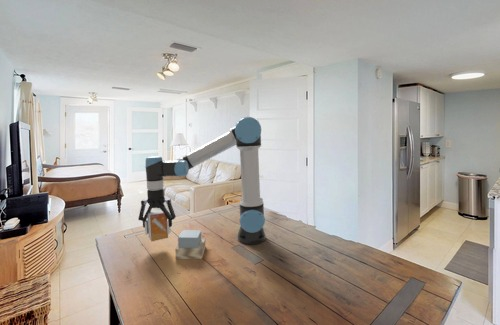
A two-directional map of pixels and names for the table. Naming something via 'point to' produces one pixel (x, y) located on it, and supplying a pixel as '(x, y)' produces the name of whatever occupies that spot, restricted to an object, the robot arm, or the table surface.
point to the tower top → (189, 239)
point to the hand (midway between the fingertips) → (158, 233)
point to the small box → (157, 225)
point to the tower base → (191, 251)
